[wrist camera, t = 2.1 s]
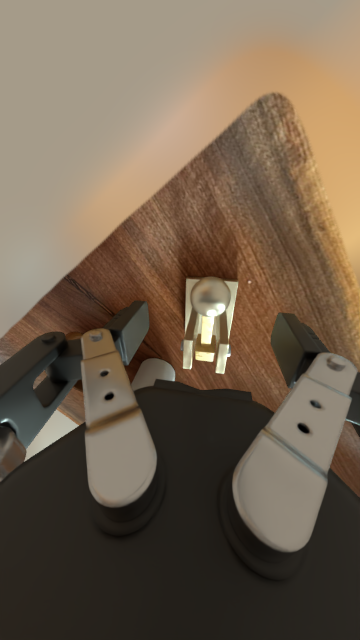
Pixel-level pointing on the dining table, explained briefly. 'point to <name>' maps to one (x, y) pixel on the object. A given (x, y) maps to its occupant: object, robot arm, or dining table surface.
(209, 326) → the switch lever
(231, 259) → the dining table surface
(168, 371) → the cup
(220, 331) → the switch bracket
